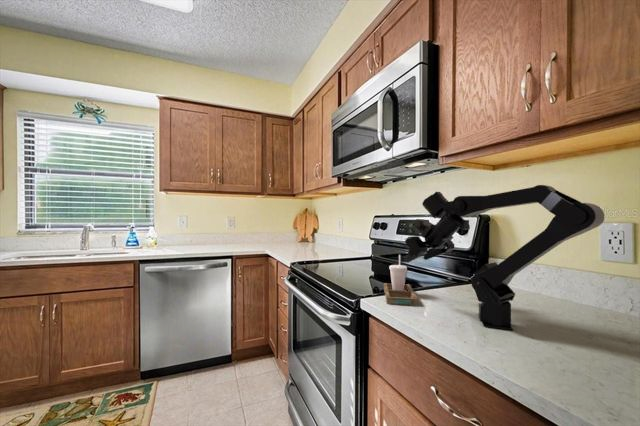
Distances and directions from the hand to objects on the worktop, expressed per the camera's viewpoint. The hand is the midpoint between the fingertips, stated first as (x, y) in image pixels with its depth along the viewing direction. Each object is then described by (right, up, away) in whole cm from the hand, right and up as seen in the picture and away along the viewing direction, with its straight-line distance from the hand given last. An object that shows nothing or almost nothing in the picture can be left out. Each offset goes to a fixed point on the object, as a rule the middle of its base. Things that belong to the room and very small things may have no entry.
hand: (415, 260), depth 95 cm
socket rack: (-5, -13, +3) cm, 14 cm away
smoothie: (-4, -13, +7) cm, 16 cm away
